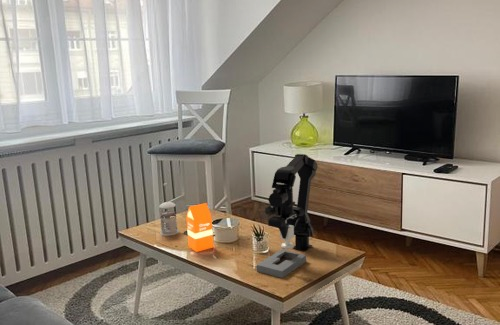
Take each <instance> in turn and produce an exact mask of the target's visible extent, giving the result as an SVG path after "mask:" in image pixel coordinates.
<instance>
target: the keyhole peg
mask: <svg viewBox="0 0 500 325" xmlns="http://www.w3.org/2000/svg"><path fill="white" fill-rule="evenodd" d="M279 235H280V239H281V240H284V242H282V243H281V245H280V246H281V250H286V251H290V250H293V248H294V246H295V245H294V244H295V243H293V242H290V241H291V240H292V239H293V238H294V239H295V235H294V226H293V225H289V227H288V231H287V235H286V238H285V239H283V237H282V235H281V232H280V231H279Z"/></svg>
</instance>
